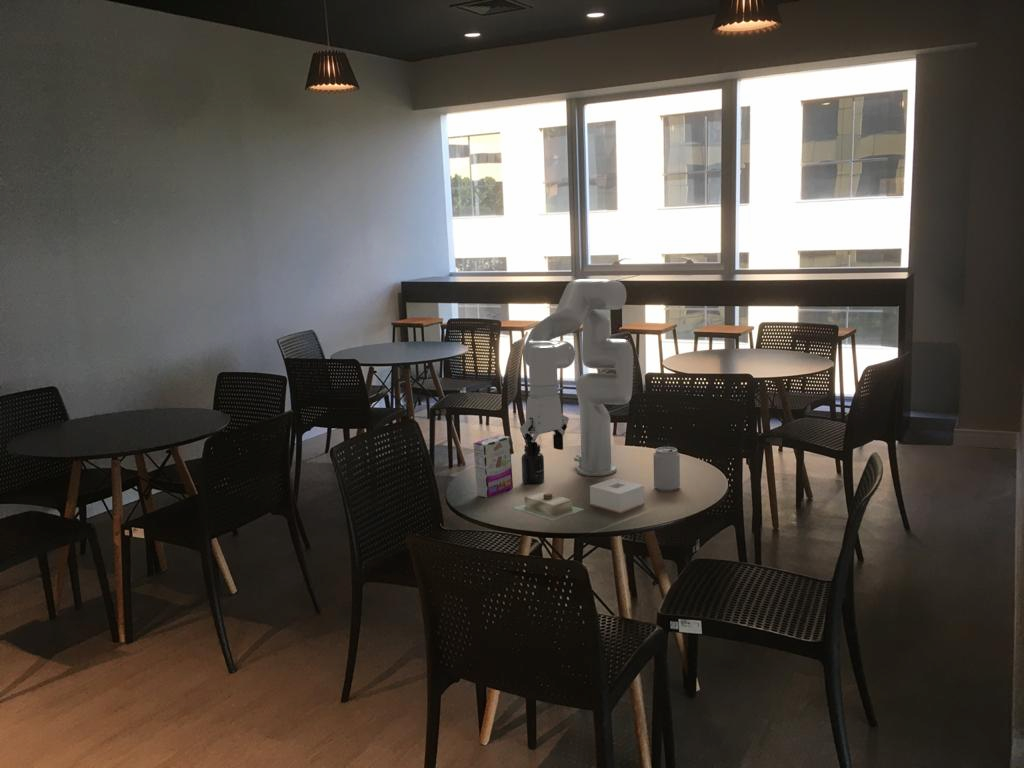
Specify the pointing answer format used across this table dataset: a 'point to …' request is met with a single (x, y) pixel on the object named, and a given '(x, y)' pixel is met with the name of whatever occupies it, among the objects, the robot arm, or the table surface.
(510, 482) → the candy bar box
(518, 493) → the table surface
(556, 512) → the lid
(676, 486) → the can
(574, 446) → the table surface
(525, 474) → the supplement bottle
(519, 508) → the mat
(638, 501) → the gray block
